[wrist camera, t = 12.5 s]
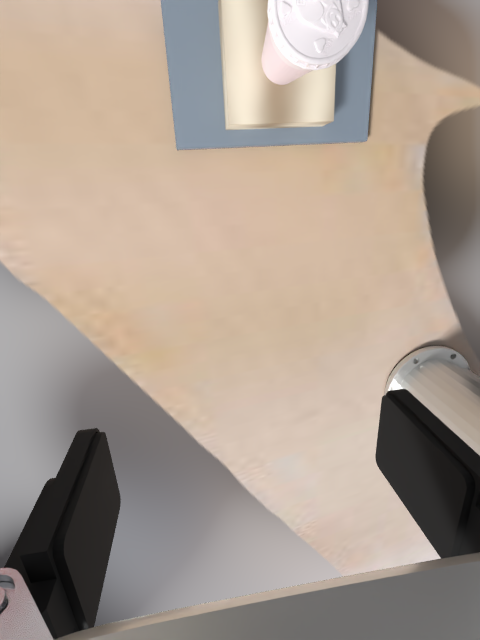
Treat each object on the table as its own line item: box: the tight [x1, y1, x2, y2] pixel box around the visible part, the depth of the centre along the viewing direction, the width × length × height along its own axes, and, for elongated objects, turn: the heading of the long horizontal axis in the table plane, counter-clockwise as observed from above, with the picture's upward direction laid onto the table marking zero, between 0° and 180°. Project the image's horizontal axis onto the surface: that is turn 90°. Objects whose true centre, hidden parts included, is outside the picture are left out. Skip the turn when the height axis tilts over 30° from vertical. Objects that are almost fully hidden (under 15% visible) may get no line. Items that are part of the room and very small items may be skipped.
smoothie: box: [261, 0, 369, 85], centre depth 24 cm, size 6×6×14 cm
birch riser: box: [218, 0, 336, 130], centre depth 32 cm, size 10×10×3 cm
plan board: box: [161, 0, 377, 150], centre depth 33 cm, size 20×13×1 cm, turn 93°
